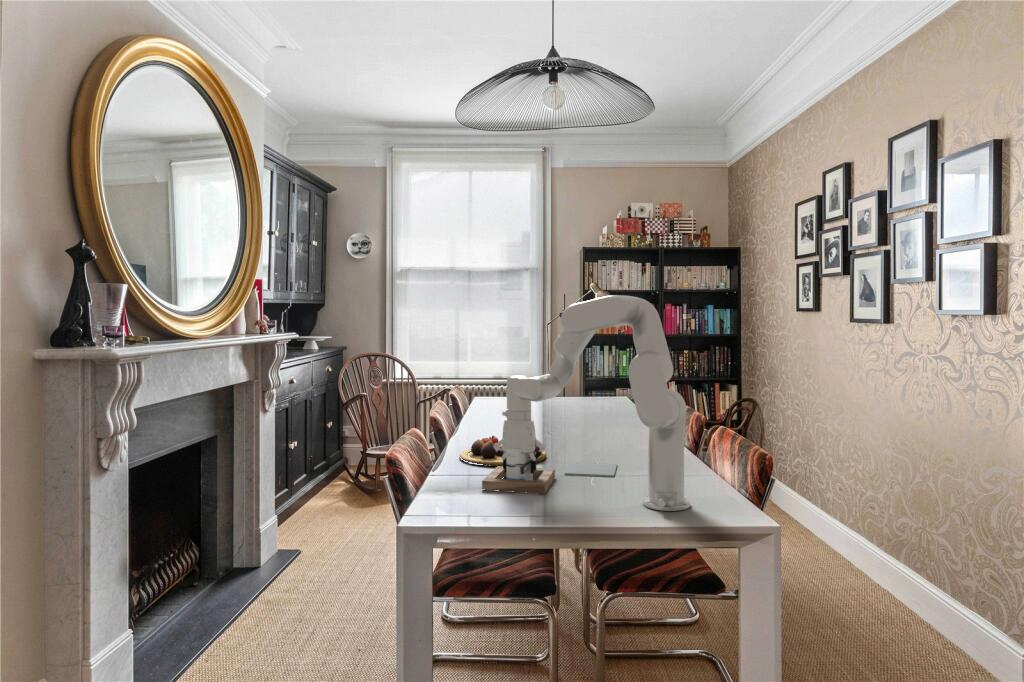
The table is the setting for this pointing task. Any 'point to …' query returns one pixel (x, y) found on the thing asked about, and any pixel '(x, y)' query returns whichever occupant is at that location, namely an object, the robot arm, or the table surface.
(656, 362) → the robot arm
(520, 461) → the ink box
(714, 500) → the table surface
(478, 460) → the wooden plate with food
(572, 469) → the slate grey mat
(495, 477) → the square wooden frame
